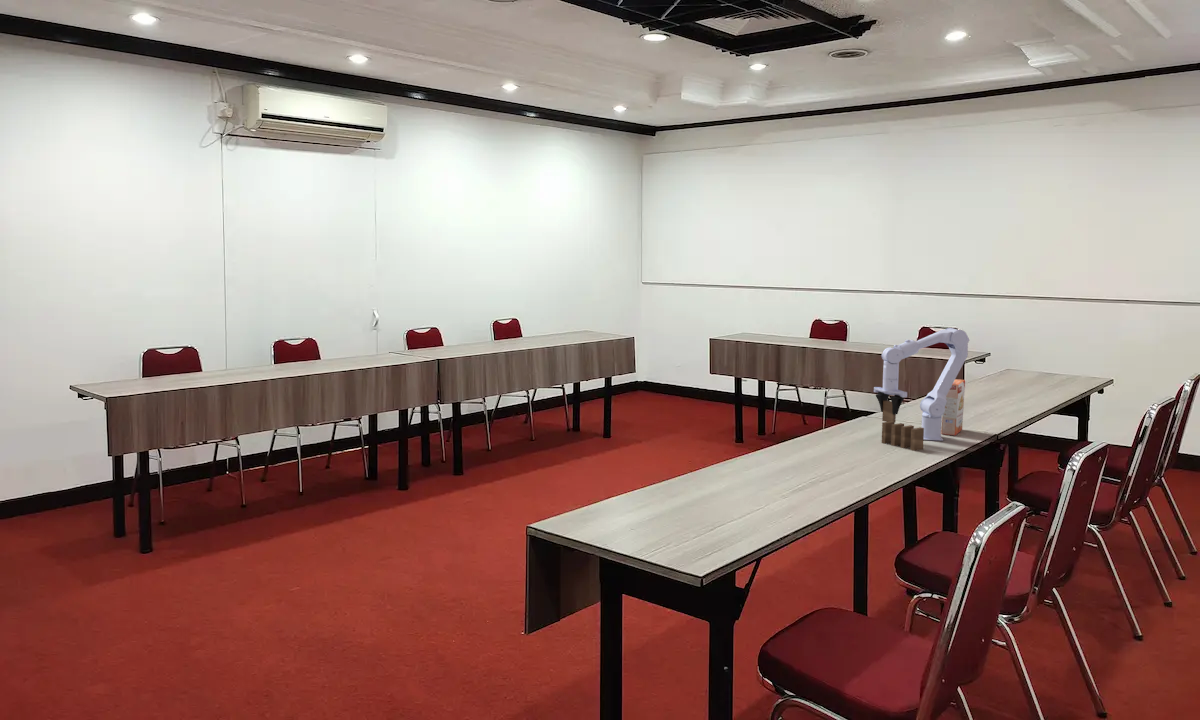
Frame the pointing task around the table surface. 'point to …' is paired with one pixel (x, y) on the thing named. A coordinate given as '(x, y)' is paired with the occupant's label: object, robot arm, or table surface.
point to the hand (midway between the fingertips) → (889, 412)
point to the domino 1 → (888, 412)
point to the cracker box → (954, 409)
